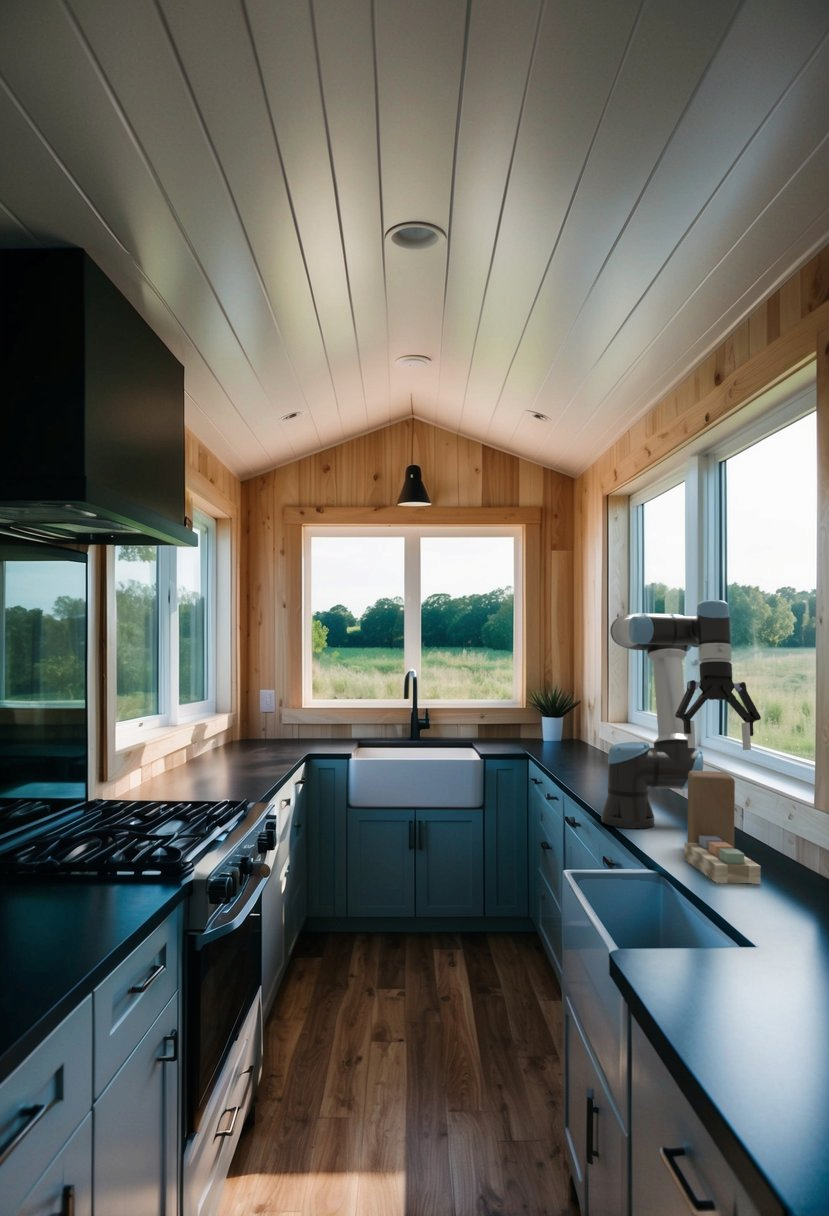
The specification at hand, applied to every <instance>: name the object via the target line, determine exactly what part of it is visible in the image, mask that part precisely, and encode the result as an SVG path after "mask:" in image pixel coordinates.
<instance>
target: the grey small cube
mask: <svg viewBox="0 0 829 1216" xmlns="http://www.w3.org/2000/svg"><path fill="white" fill-rule="evenodd" d="M709 842H722V840H721V839H720V838H718V837H716V836H699V846H700V847H702V848H703V849H709Z"/></svg>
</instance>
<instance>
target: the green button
mask: <svg viewBox="0 0 829 1216" xmlns="http://www.w3.org/2000/svg"><path fill="white" fill-rule="evenodd" d="M744 856H745V853H744V852H742V851H741V850H739V849H737V848H734V849H719V860H721V861H722V862H723V863H725V864H744Z"/></svg>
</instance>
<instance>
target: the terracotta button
mask: <svg viewBox="0 0 829 1216" xmlns="http://www.w3.org/2000/svg"><path fill="white" fill-rule="evenodd" d="M719 849H733V846H731V845H729V844H728V843H726V842H709V853H710V854H712V855H713V856H719Z"/></svg>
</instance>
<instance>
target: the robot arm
mask: <svg viewBox="0 0 829 1216" xmlns="http://www.w3.org/2000/svg"><path fill="white" fill-rule="evenodd" d="M730 617H731V614H730V607H729V604H728V603H727V601H724V600H719V599H710V600H709V599H707V600H702V601H700V602H699V603H697V606H696V616H684V615H683V614H676V613H669V612H668V613H645V612H644V613H641V612H640V613H639V612H638V613H637V612H636V613H635V612H634V613H628V614H623V615H621V616H618V617H617V618H616V619H614V620H613V621H612V624H611V625H610V631H609V632H610V636H611V639H612V640H613V642H614V643H616V644H617V646H619V647H621V648H622V647H623V648H624V649H629V650H632V651H633V650H634V651H647V658H648V659H649V660H651V661H652V665H653V666H652V667H653V680H654V696H655V705H656V707H655V708H656V722H657V723H656V724H657V731H658V732H657V736H658V737H657V738H656V739H655V740H654V742H653V747H651V746H650V744H649V743H648V742H647V741H646V742H644V741H631V742H630V741H629V742H621V743H617V744H613V745H612V746H610V747H609V749H608V756H607V796H606V799H605V802H604V805H603V808H602V811H601V815H600V816H601V817H600V819H601V822H602V823H603V824H606V825H609V826H612V827H616V828H622V827H623V828H622V829H635V828H640V829H647V828H653V827H654V826H655V823H656V821H655V820H656V819H655V815H654V811H653V807H652V805H651V800H650V797H649V793H650V790H649V789H651V788H652V789H673V790H674V789H675V790H676V789H677V790H678V789H679V790H680V791H681V790H688V773H689V771H692V770H696V771H704V756H703V752H702V750H701V749H699V748H696V732H695V731H696V729H695V720H691V719H693V717H694V716H695V715H696V714H697V712H698V711H699V710H700V709H701V708H702V707H703V705H704V704H705V702H706V701H708V700H709V701H713V700H717V701H723V700H724V701H726V702H727V703H728V704H729V705H730V706H731V707H732V708H733V710H734V711H735V712H736V714H738V716H739V717H740V718H741V719H742V720H743V721H744V722H741V734H742V735H741V737H742V739H741V740H742V751H751V750H752V743H751V740H752V739H751V737H753V736H754V733H755V732H754V723H755V722H757V721H760V720H761V718H762V717H761V715H760V713H759V711H758V709H757V707H756V705H755V704H754V701H753V700H752V698H751V696H750V694H749V692H748V690H747V684H746V682H744V681H741V682H736V683H734V681H733V664H732V663H731V660H732V648H731V647H732V646H731V645H732V644H731V624H730V622H731V621H730ZM691 648H698V661H700V664H699V681H696V680H695V679H692V680H689V681H687V683H686V689H685V680H684V678H685V677H684V669H683V660H684V659H685V658H686V657H687V653H688V652H689V651H690V650H691ZM698 688H699V689H700V691H701V693H700V695H699V696H698V698H697V699H696V700H695V702H693V704H692V705H691V707H690V708H689V709H688V707H689V705H690V703H691V701H692V698H693V696H694V694H695V692H696V690H698ZM733 690H735V691H736V692H737V695H738V696H739V698H740V699H741V702H742V703H743V705H742V703H740V702H739V700H738V699H737V697H736V695H735V694H734V693H733Z"/></svg>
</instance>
